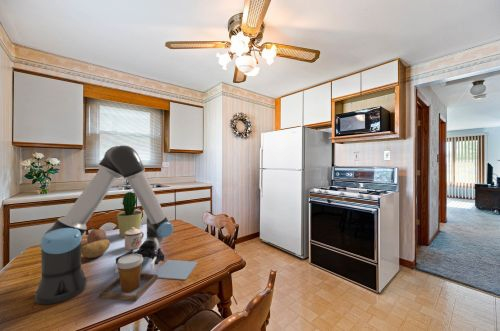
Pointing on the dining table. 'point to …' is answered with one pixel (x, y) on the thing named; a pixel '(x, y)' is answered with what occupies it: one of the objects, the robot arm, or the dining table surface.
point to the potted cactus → (129, 214)
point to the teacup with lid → (133, 238)
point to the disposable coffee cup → (130, 271)
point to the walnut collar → (123, 296)
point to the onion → (96, 235)
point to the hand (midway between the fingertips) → (134, 268)
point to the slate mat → (176, 269)
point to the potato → (95, 248)
